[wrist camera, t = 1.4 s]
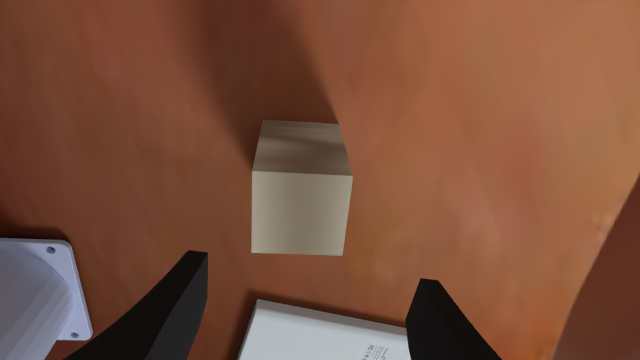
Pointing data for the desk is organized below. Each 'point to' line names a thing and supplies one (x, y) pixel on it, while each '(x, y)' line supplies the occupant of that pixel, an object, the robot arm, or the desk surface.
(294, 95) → the desk surface
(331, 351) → the external hard drive
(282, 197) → the birch block
